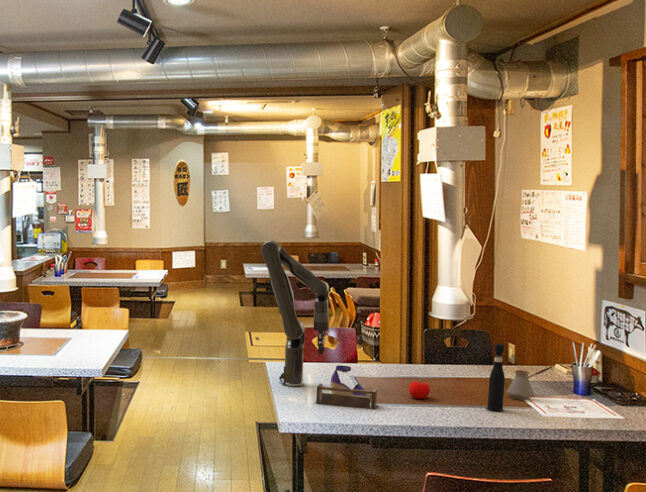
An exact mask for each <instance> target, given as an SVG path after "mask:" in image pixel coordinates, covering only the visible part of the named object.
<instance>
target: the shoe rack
mask: <svg viewBox="0 0 646 492" xmlns="http://www.w3.org/2000/svg"><path fill="white" fill-rule="evenodd" d="M323 385H324V384H323V383H319V384H318V385H317V386H316V397H315V398H316V399H315V404H317V405H327V406H328V405H329V406H339V407H349V408H360V409H371V410H375V409H376V407H377V401H378V400H377V399H378V388H376V387H373V389H372V390H366V389H365V390H355V389H353V388H350V389H344V388H332V387H331V386H323ZM323 391H330V392H332V391H342V392H353V393H365V394H372V397H363V396H352V395H341V394H332V393H328V392H323Z"/></svg>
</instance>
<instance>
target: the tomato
mask: <svg viewBox="0 0 646 492" xmlns="http://www.w3.org/2000/svg"><path fill="white" fill-rule="evenodd" d="M408 393H409V395H410V396H411V397H412V398H413V399H418V400H423V399H427V398H428V397H429V395H430V393H431V386H430V384H429V383H428V382H426V381H422V380H414V381H412V382H411V383H410V384H409V387H408Z"/></svg>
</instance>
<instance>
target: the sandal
mask: <svg viewBox="0 0 646 492" xmlns="http://www.w3.org/2000/svg"><path fill="white" fill-rule="evenodd" d="M351 371H352V367H351V366H348V365H340V364H339V365H336V366H335V370H334V371H333V374H332V375H331V378H330V387H332V388H344V389H351V388H350V387H349V386H348V385H346V384H345V383H343V382H342V381H341V379H340V376H339V373H338V372H342V373H348V372H351ZM352 389H355V390H366V389H365V388H363V386H361V384H360V383H356V385H355V386H354V387H353V388H352ZM331 394H341V395H352V396H363V397H370V398H372V394H365V393H353V392H342V391H331Z"/></svg>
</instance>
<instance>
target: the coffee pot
mask: <svg viewBox="0 0 646 492" xmlns="http://www.w3.org/2000/svg"><path fill="white" fill-rule="evenodd" d="M550 369H551V371H555V370H554V368H553V366H549V367H546V368H544V369H543V368H542V369H541V370H538V371H537V372H535V373H532V374H530V372H529V371H527V370H521V369H519V370H518V369H517V370H514V373H515V376H514V378H513V379H512V382H511V383H510V385H509V386H508V389H507V390H506V392H507V394H508V396H509V397H511V399H513V400H517V401H527V400H530V399H531V398H532V397H533V396H534V394H535V393H534V389H533V387H532V384H531V382H530V378H533V377H535V376H537V375H539V374H542V373H545V372H547V371H549V370H550ZM529 374H530V375H529Z"/></svg>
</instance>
